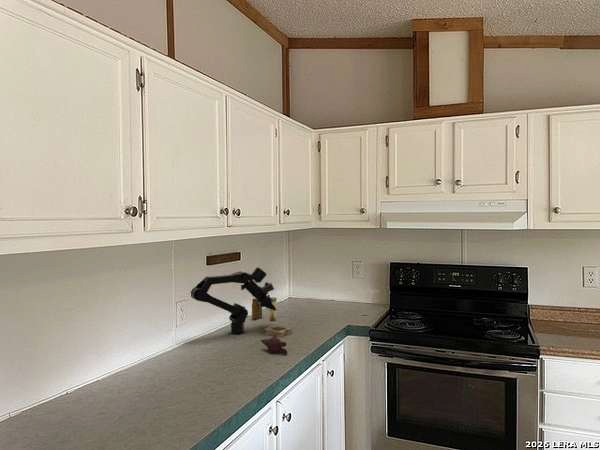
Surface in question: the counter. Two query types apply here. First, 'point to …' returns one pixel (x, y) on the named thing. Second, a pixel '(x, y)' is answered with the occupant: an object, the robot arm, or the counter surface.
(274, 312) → the pin
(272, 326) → the mount mat
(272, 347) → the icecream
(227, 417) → the counter surface
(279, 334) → the socket
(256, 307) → the condiment
